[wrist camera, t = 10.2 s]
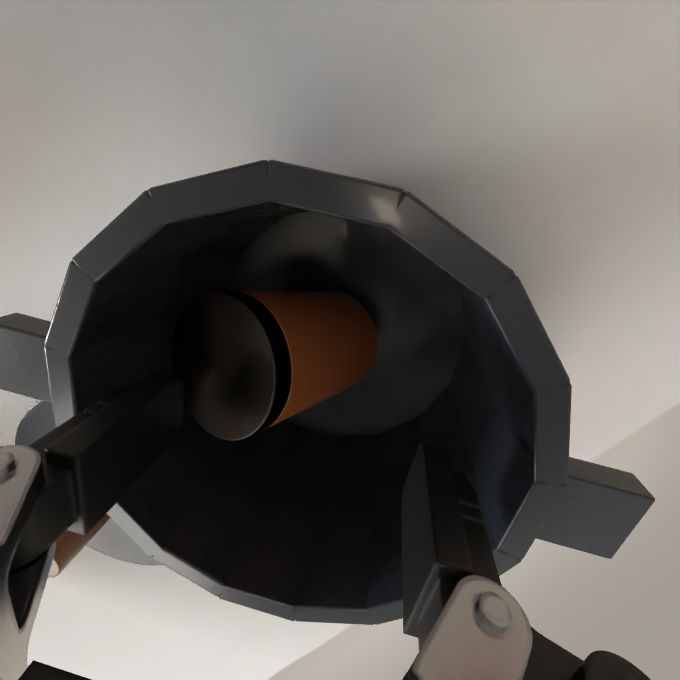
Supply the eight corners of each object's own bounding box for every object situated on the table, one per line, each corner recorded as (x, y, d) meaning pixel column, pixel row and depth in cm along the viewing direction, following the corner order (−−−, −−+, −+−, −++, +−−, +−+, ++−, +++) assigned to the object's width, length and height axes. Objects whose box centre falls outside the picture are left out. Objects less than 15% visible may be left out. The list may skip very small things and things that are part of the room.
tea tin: (303, 278, 18) (179, 272, 12) (390, 308, 15) (290, 319, 9) (284, 367, 19) (164, 401, 13) (361, 406, 17) (258, 469, 11)
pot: (171, 148, 17) (-107, 76, 7) (585, 240, 15) (867, 290, 6) (168, 397, 22) (4, 533, 13) (473, 479, 21) (535, 696, 12)
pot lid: (14, 359, 23) (-124, 415, 17) (233, 418, 22) (170, 500, 16) (43, 521, 29) (-52, 606, 22) (217, 573, 28) (166, 677, 22)
